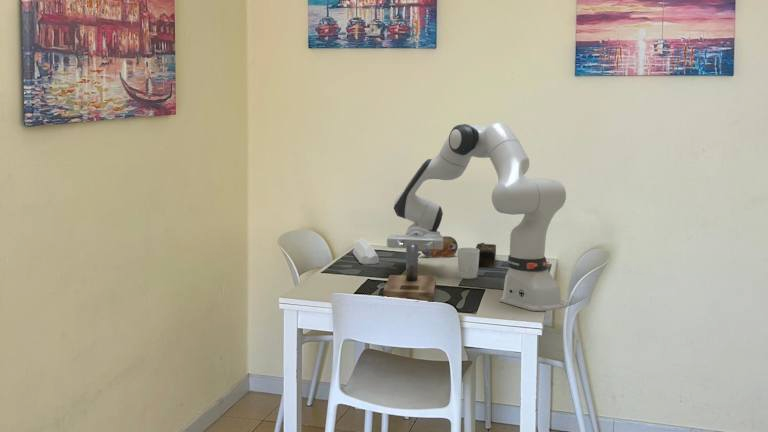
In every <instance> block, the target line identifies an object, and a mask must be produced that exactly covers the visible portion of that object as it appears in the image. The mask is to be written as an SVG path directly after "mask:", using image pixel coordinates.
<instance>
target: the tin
mask: <svg viewBox="0 0 768 432" xmlns="http://www.w3.org/2000/svg"><path fill="white" fill-rule="evenodd" d="M442 237H443V249H441V250H439V249H430V250H424V251H421V253H422V255H424V256H425V257H426V258H429V259H436V258H437V259H438V258H439V259H440V257H441V258H451V257H454V255H456V253H457V252H458V249H459V248H458V246H459V245H458V242H457V240H456V239H455V238H454V237H452V236H448V235H446V236H445V235H444V236H443V235H442Z"/></svg>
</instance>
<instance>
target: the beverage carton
mask: <svg viewBox="0 0 768 432" xmlns="http://www.w3.org/2000/svg"><path fill="white" fill-rule="evenodd" d="M475 248H477V249H479V250H480V252H479V265H478V268H489V267H491V269H492V268H494V267H495V264H496V258H497V257H496V255H497V245H496V244H494V243H493V244H491V243H490V244H488V243H485V242H480V243H477V244H476V246H475Z"/></svg>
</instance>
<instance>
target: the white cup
mask: <svg viewBox="0 0 768 432" xmlns="http://www.w3.org/2000/svg"><path fill="white" fill-rule="evenodd" d="M479 252H480V250H479V249H477V248H476V247H459V248H458V249H457V268H458V277H459V278H460V279H468V280H469V279H472V280H473V279H477V278H478V274H479V273H478V271H479V267H478V265H479Z"/></svg>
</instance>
